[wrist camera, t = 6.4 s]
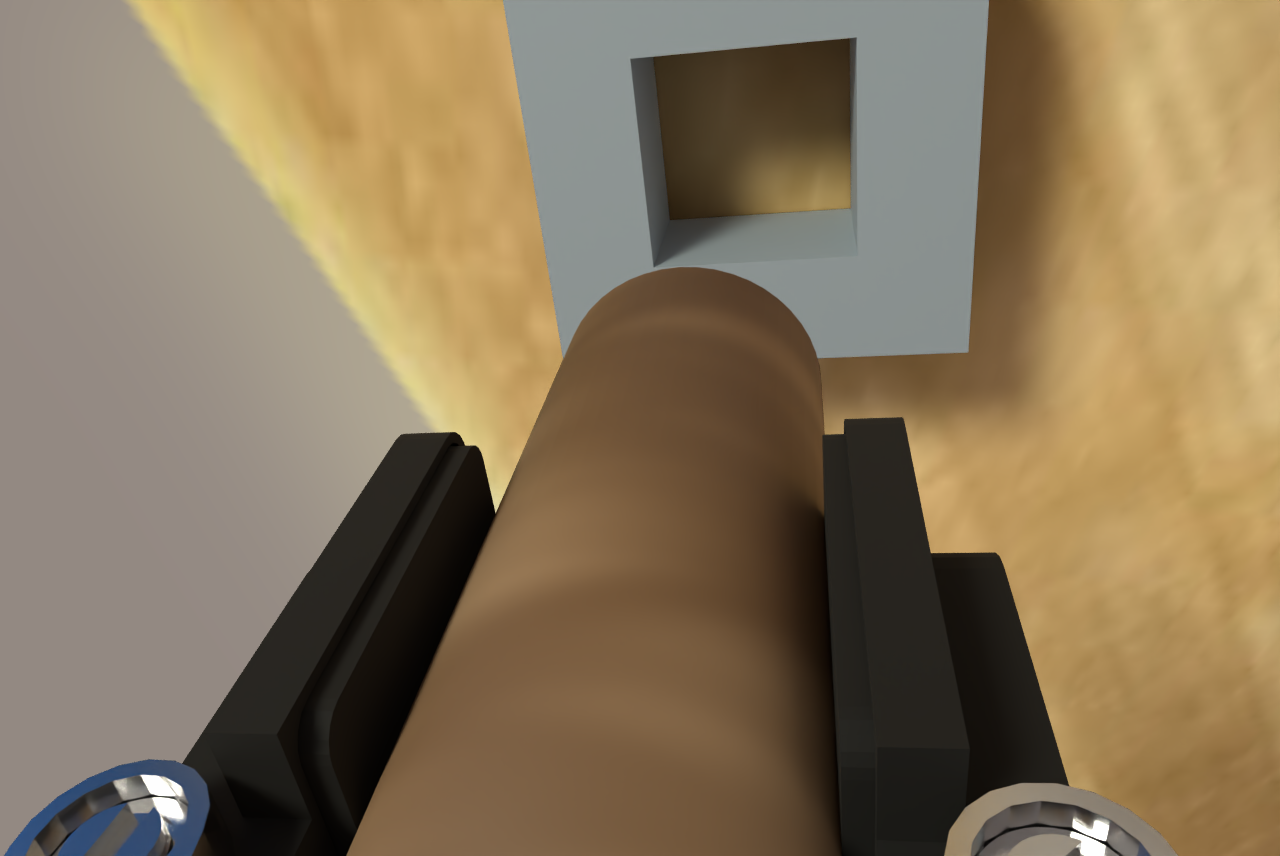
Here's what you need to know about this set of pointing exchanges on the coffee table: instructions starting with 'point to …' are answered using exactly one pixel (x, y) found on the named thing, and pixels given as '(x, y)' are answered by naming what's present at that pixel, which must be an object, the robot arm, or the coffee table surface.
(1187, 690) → the coffee table surface
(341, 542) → the robot arm
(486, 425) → the coffee table surface
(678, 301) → the tall dowel
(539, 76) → the hole block
